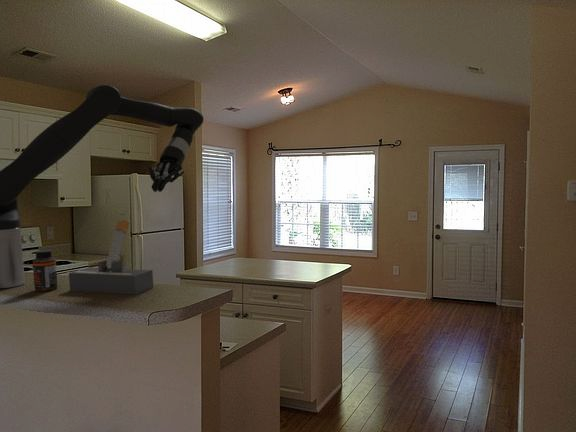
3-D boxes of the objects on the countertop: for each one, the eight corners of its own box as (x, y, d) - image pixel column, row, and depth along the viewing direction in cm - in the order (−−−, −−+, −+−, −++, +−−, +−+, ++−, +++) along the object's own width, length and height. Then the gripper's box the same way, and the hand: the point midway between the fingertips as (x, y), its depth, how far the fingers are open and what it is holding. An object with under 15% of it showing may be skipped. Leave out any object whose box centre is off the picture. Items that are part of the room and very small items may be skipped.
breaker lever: (103, 269, 136) (117, 220, 142) (107, 271, 137) (121, 223, 143) (111, 269, 135) (125, 220, 141) (115, 271, 136) (129, 223, 142)
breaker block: (70, 290, 137) (67, 262, 136) (90, 284, 144) (88, 257, 144) (135, 294, 130) (134, 264, 129) (153, 287, 137) (151, 259, 136)
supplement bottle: (30, 291, 138) (26, 251, 137) (48, 286, 143) (46, 248, 142) (43, 293, 135) (40, 252, 134) (62, 288, 140) (59, 249, 139)
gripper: (153, 146, 167) (133, 182, 157) (187, 144, 163) (169, 181, 153) (162, 161, 173) (144, 198, 162) (196, 160, 169) (179, 197, 158)
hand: (156, 190), depth 158 cm, fingers closed
